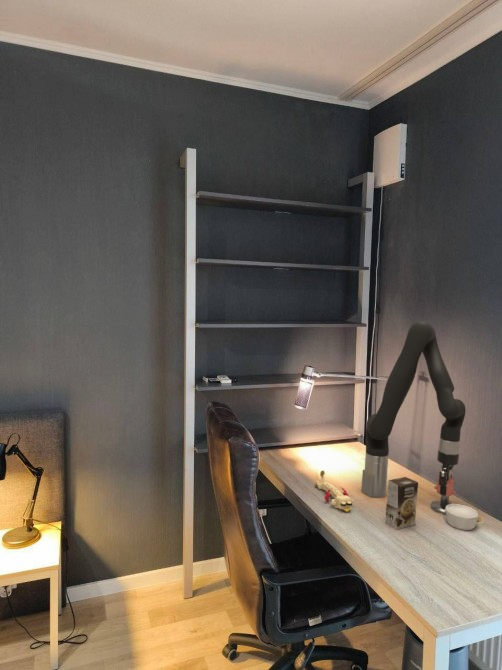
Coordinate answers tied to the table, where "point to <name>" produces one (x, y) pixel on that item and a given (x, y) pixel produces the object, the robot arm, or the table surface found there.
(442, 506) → the grey lamp
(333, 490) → the cream toy dragon
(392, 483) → the coffee box
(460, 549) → the table surface
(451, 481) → the cap
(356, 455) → the table surface
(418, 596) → the table surface
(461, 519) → the ramekin
